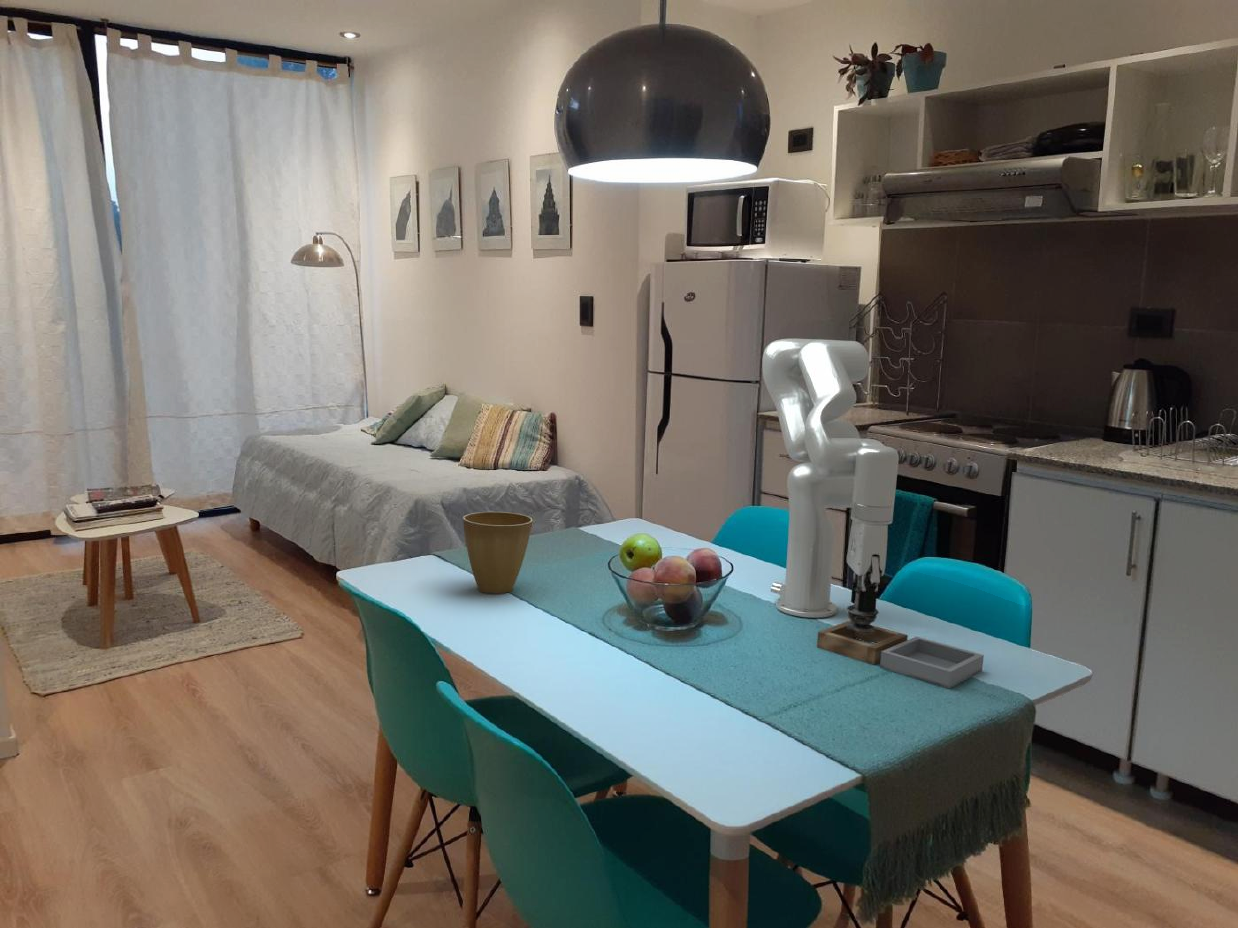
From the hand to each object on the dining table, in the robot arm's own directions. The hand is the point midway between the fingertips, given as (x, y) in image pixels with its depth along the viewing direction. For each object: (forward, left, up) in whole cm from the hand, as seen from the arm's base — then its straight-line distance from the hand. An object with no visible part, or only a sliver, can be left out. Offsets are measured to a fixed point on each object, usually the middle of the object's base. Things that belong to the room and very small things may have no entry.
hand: (862, 606), depth 184 cm
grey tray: (+15, 0, -8) cm, 17 cm away
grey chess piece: (0, 0, -5) cm, 5 cm away
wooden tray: (+1, 0, -8) cm, 8 cm away
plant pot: (-72, -30, -8) cm, 79 cm away
